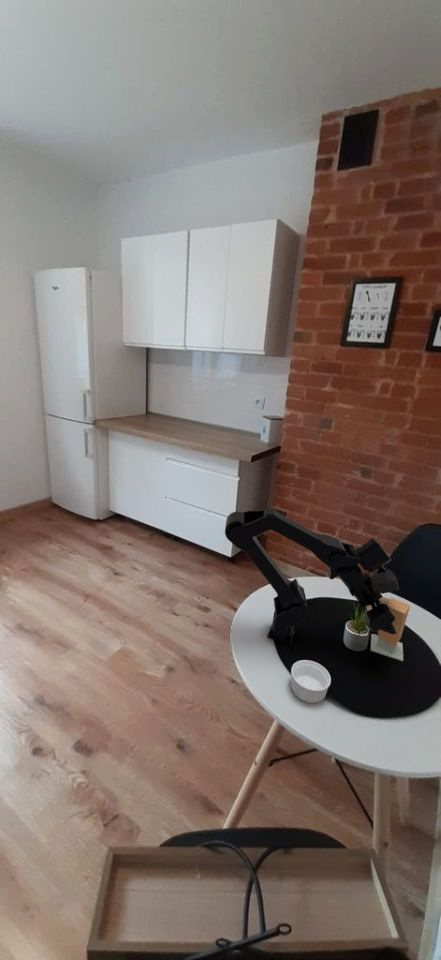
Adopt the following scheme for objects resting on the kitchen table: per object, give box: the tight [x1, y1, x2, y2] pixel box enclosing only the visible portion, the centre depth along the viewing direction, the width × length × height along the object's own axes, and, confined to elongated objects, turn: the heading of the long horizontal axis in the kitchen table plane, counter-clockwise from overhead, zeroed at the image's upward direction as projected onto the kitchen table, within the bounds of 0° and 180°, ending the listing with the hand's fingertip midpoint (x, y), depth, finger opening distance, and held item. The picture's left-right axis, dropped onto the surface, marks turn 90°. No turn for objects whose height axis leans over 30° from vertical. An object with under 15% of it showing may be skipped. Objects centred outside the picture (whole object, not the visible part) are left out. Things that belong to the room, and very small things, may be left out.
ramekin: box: [290, 659, 332, 704], centre depth 89 cm, size 9×9×4 cm
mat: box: [370, 633, 404, 662], centre depth 105 cm, size 7×8×1 cm
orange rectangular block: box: [376, 597, 411, 654], centre depth 103 cm, size 5×5×13 cm
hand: (388, 621), depth 102 cm, fingers open, 9 cm apart
